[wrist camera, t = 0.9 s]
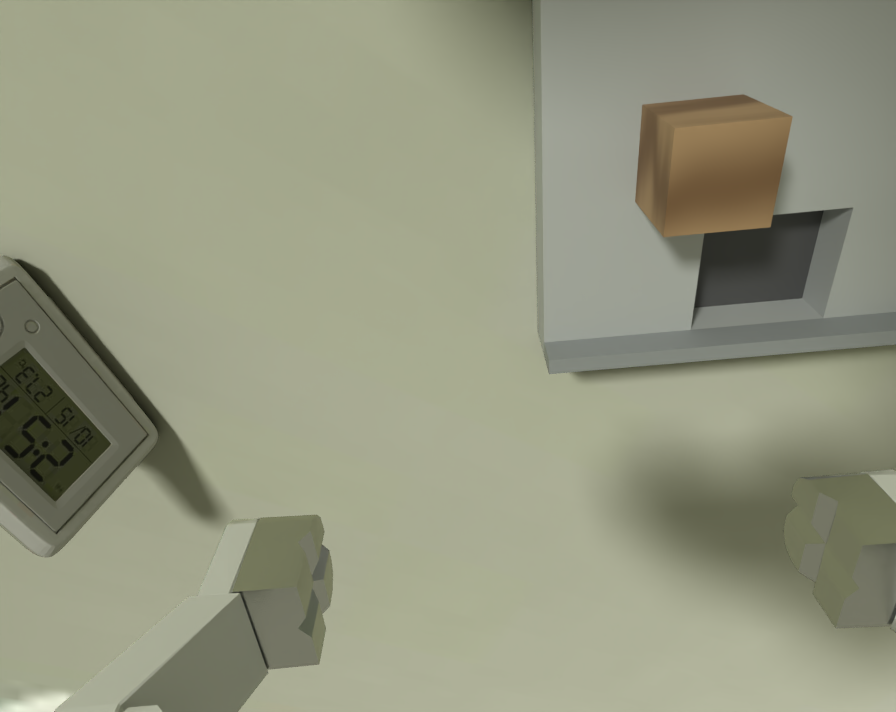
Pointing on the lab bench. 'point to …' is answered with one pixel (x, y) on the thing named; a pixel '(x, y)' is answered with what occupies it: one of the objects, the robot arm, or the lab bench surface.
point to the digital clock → (57, 420)
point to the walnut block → (710, 164)
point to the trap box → (720, 253)
